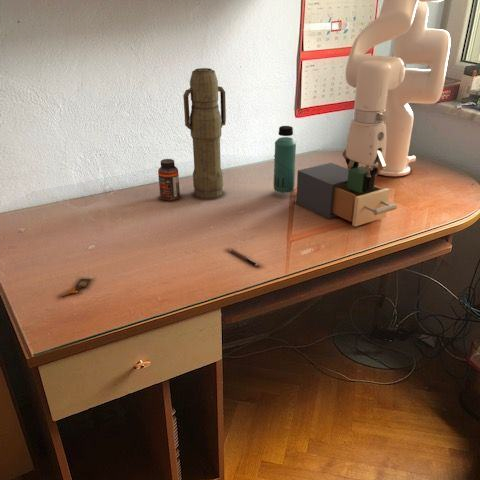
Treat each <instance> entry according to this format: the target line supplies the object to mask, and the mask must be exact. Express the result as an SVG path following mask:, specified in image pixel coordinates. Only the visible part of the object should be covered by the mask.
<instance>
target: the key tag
mask: <svg viewBox="0 0 480 480" xmlns="http://www.w3.org/2000/svg"><path fill="white" fill-rule="evenodd" d="M90 281H91V278H81V279H80V280H79V281H78V283H77V284H76V285H75V287H74V288H71V289H70V290H69V291H68V292H65V293H63V294H62V295H61V297H65V296H68V295H72V294H76V293H78V292H79V291H80V290H81V289H86V288H87V287H88V285H89V283H90Z"/></svg>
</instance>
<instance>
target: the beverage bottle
mask: <svg viewBox="0 0 480 480" xmlns="http://www.w3.org/2000/svg"><path fill="white" fill-rule="evenodd" d="M293 135H294V128H293V126H290V125H281V126H279V127H278V136H281V137H279V138H277V139H276V140H275V141H274V155H273V157H274V158H273V160H274V162H273V165H274V167H273V190H274V191H275V192H277V193H282V194H286V193H287V194H288V193H291V192H293V191H295V181H296V151H297V141H296V140H295V139H294V138H292V137H291V136H293Z"/></svg>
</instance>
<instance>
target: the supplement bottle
mask: <svg viewBox="0 0 480 480" xmlns="http://www.w3.org/2000/svg"><path fill="white" fill-rule="evenodd" d="M157 175H158V187H159V197H160V199H161V200H163V201H165V202H172V201H176V200H179V199H180V197H181V191H180V177H179V169H178V167H176V164H175V159H172V158H163V159H160V167H159V168H158V170H157Z"/></svg>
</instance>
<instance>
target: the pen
mask: <svg viewBox="0 0 480 480" xmlns="http://www.w3.org/2000/svg"><path fill="white" fill-rule="evenodd" d="M229 252H230V253H231V254H233V255H235V256H237V257H238V258H240V259H242V260H243V261H245V262H247V263H249V264H251V265H252V266H255V267H259V266H260V265H259V263H258V262H256V260H254V259H252V258H250V257H248V256H245V255H243V254H241V253H239V252H237V251H236V250H234V249H229Z"/></svg>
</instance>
